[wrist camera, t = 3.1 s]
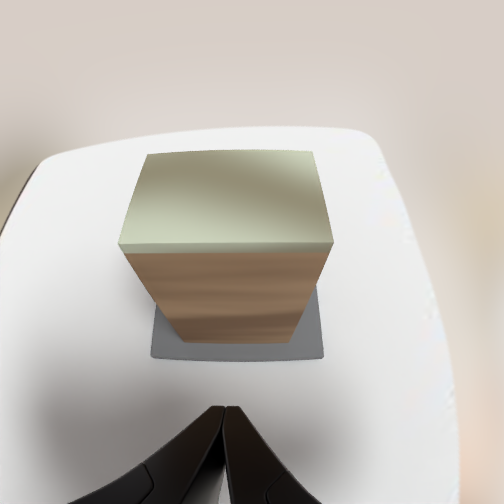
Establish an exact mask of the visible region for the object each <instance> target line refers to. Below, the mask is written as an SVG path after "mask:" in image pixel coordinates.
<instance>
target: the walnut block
mask: <svg viewBox="0 0 504 504" xmlns="http://www.w3.org/2000/svg"><path fill="white" fill-rule="evenodd" d="M333 243H334V241H333V236H332V231H331V227H330V222H329V217H328V213H327V208H326V204H325V200H324V196H323V191H322V187H321V183H320V179H319V175H318V171H317V167H316V164H315V160H314V156H313V152H312V151H292V150H209V151H187V152H171V153H158V154H147V157H146V160H145V162H144V165H143V167H142V170H141V173H140V176H139V178H138V181H137V184H136V187H135V190H134V193H133V196H132V199H131V202H130V205H129V208H128V211H127V214H126V217H125V221H124V224H123V227H122V231H121V234H120V237H119V241H118V245H119V247H120V248H121V250H122V252H123V253H124V255H125V257H126V258H127V260H128V261H129V263H130V265H131V266H132V268H133V269H134V271H135V272H136V274H137V276H138V277H139V279H140V280H141V282H142V283H143V285H144V286H145V288H146V289H147V291H148V292H149V294H150V295H151V297H152V298H153V300H154V301H155V303H156V304H157V305H158V307H159V308H160V310H161V311H162V313H163V314H164V315H165V317H166V318H167V320H168V321H169V322H170V324H171V325H172V326H173V328H174V329H175V331H176V332H177V333H178V335H179V336H180V337H181V339H182V340H183V341H184V343H215V344H265V343H289V341H290V339H291V337H292V335H293V333H294V331H295V329H296V327H297V325H298V322H299V320H300V318H301V316H302V314H303V312H304V310H305V307H306V305H307V303H308V301H309V299H310V297H311V294H312V292H313V290H314V288H315V285H316V283H317V281H318V279H319V276H320V274H321V272H322V269H323V267H324V265H325V262H326V260H327V258H328V255H329V253H330V250H331V248H332V246H333Z"/></svg>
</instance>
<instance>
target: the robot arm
mask: <svg viewBox="0 0 504 504" xmlns="http://www.w3.org/2000/svg"><path fill="white" fill-rule="evenodd" d="M143 463H144V464H143ZM143 463H140V464H139V465H137V466H136V467H135V468H133V469H132V470H130V471H129V472H127V473H126V474H124V475H123V476H121V477H120V478H118V479H117V480H115V481H113V482H111V483H109V484H108V485H106V486H104V487H102V488H100V489H98V490H96V491H94V492H92V493H90V494H88V495H86V496H83V497H81V498H79V499H77V500H75V501H72V502H70V503H68V504H218V500H219V495H220V490H221V486H222V481H223V477H224V472H225V466H226V474H227V481H228V489H229V496H230V502H231V504H322V503H321V502H319V501H318V500H317V499H316V498H315V497H314V496H312V495H311V494H310V493H309V492H308V491H307V490H306V489H305V488H304V487H303V486H302V485H301V484H300V483H299V482H298V481H297V480H296V478H295V477H294V476H293V475H292V474H291V472H290V471H288V470H287V468H286V467H285V466H284V465H283V463H282V462H281V461H280V460H279V458H278V457H277V456H276V455H275V453H274V452H273V451H272V449H271V448H270V447H269V446H268V444H267V443H266V442H265V440H264V439H263V438H262V436H261V435H260V434H259V432H258V431H257V430H256V428H255V427H254V426H253V424H252V423H251V422H250V420H249V419H248V417H247V416H246V415H245V413H244V412H243V411H242V409H241V408H240V407H239V406H227V407H226V408H225V407H224V406H211V407H210V408H208V409H207V410H206V411H205V412H204V413H203V414H202V415H200V416H199V417H198V418H197V419H196V420H195V421H193V422H192V423H191V424H190V425H189V426H187V427H186V428H185V429H184V430H183V431H181V432H180V433H179V434H178V435H177V436H175V437H174V438H173V439H172V440H170V441H169V442H168V443H167V444H165V445H164V446H163V447H162V448H160V449H159V450H158V451H157V452H155V453H154V454H153V455H151V456H150V457H149V458H147V459H146V460H145V461H144V462H143Z"/></svg>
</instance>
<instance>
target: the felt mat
mask: <svg viewBox="0 0 504 504" xmlns="http://www.w3.org/2000/svg"><path fill="white" fill-rule="evenodd" d="M151 357H153V358H160V359H174V360H192V361H223V362H259V361H291V360H309V359H322V358H323V357H324V353H323V342H322V332H321V323H320V314H319V305H318V297H317V289H316V285H315V288H314V290H313V292H312V294H311V297H310V299H309V301H308V303H307V305H306V307H305V310H304V312H303V314H302V316H301V318H300V320H299V322H298V325H297V327H296V329H295V331H294V333H293V335H292V337H291V339H290V341H289V343H265V344H215V343H184V341H183V340H182V339H181V337H180V336H179V335H178V333H177V332H176V331H175V329H174V328H173V326H172V325H171V324H170V322H169V321H168V320H167V318H166V317H165V315H164V314H163V313H162V311H161V310H160V308H159V307H158V305H157V304H156V312H155V320H154V329H153V338H152V347H151Z"/></svg>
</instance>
